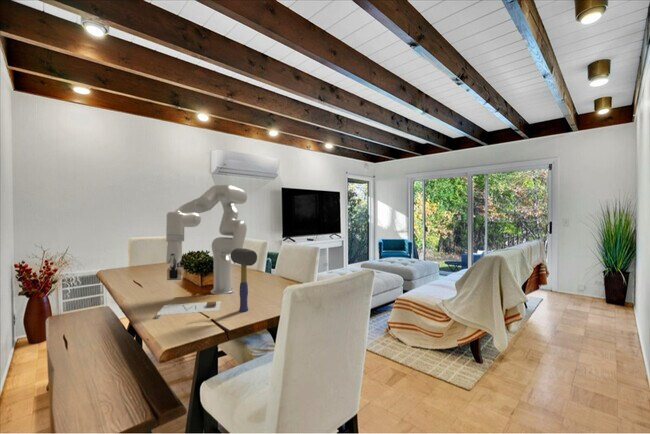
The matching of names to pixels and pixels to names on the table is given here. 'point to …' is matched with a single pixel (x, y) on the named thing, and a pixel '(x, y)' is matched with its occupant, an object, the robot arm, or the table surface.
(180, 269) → the sanding block
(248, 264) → the rubber mallet
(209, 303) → the walnut offcut
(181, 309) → the board
